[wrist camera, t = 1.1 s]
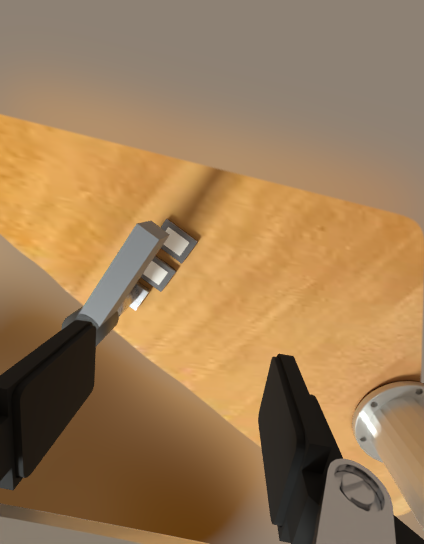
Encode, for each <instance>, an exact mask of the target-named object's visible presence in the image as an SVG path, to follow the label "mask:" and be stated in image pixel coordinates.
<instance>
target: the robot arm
mask: <svg viewBox="0 0 424 544" xmlns="http://www.w3.org/2000/svg"><path fill="white" fill-rule="evenodd" d="M95 350H96V327H95V326H93V324H92V322H89V321H83V320H74V321H73V322H72V323H70V324H69V325H68V326H66V327H65V328H64V329H62V330H61V331H60V332H58V333H57V334H56V335H54V336H53V337H52V338H50V339H49V340H47V341H46V342H45V343H43V344H42V345H41V346H39V347H38V348H37V349H35V350H34V351H33V352H31V353H30V354H29V355H28V356H26V357H25V358H23V359H22V360H21V361H19V362H18V363H16V364H15V365H14V366H12V367H11V368H10V369H8V370H7V371H6V372H4V373H3V374H2V375H0V488H4V489H9V490H14V489H15V487H16V486H17V485H18V484H19V482H20V481H21V480H22V478H23V477H24V478H26V477H28V476H29V475H30V474H31V473H32V472H33V471H34V469H35V468H36V466H37V465H38V464H39V462H40V461H41V460H42V458H43V457H44V456H45V454H46V453H47V452H48V450H49V449H50V448H51V446H52V445H53V443H54V442H55V441H56V439H57V438H58V437H59V435H60V434H61V433H62V431H63V430H64V429H65V427H66V426H67V425H68V423H69V422H70V420H71V419H72V418H73V417H74V415H75V414H76V412H77V411H78V410H79V408H80V407H81V406H82V404H83V403H84V402H85V400H86V399H87V397H88V396H89V395H90V393H91V392H92V390H93V387H94V374H95ZM258 423H259V431H260V439H261V447H262V454H263V462H264V470H265V478H266V486H267V493H268V501H269V508H270V516H271V521H272V524H274V525H277V526H278V532H279V539H280V541H283V542H288V543H291V544H424V540H423V539H422V538H421V537H420V536H419V535H417V534H416V533H415V532H414V531H413V530H411V529H410V528H409V527H408V526H406V525H405V524H404V523H403V522H402V521H400V520H399V519H398V518H397V517H396V516H394V515H393V505H392V502H391V498H390V495H389V493H388V492H387V490H386V488H385V486H384V485H383V484H382V483H381V481H380V480H379V479H378V478H377V477H376V476H375V475H374V474H373V473H372V472H371V471H369V470H368V469H367V468H365V467H364V466H362V465H360V464H359V463H356V462H354V461H352V460H347V459H343V457H342V455H341V452H340V450H339V448H338V446H337V443H336V441H335V439H334V437H333V434H332V432H331V430H330V428H329V425H328V423H327V421H326V419H325V417H324V414H323V412H322V410H321V408H320V405H319V403H318V401H317V399H316V397H315V396H314V395H310V394H309V392H308V390H307V387H306V385H305V382H304V380H303V378H302V375H301V373H300V370H299V368H298V366H297V363H296V361H295V358H294V357H293V356H289V355H283V354H278V355H277V357H272V360H271V364H270V368H269V373H268V377H267V381H266V385H265V389H264V394H263V398H262V402H261V406H260V411H259V417H258ZM352 428H353V433H354V436H355V438H356V440H357V442H358V443H359V445H360V447H361V448H362V449H363V450H364V452H365V453H366V454H368V455H369V456H371V457H372V458H374V459H376V460H378V461H380V462H383V463H384V465H385V466H386V468H387V470H388V471H389V473H390V475H391V476H392V478H393V480H394V481H395V483H396V485H397V487H398V488H399V490H400V492H401V493H402V495H403V497H404V498H405V500H406V502H407V503H408V505H409V507H410V508H411V510H412V512H413V513H414V515H415V517H416V519H417V520H418V522H419V524H420V525H421V527H422V529H423V530H424V383H421V382H414V381H400V382H395V383H390V384H387V385H384V386H382V387H379V388H378V389H376V390H374V391H372V392H371V393H370V394H368V395H367V396H366V397H365V398H364V399H363V400H362V401H361V402H360V404H359V405H358V407H357V408H356V410H355V413H354V416H353V421H352ZM0 544H208V543H204V542H199V541H194V540H188V539H184V538H178V537H173V536H168V535H163V534H158V533H152V532H148V531H143V530H137V529H132V528H127V527H122V526H117V525H111V524H106V523H101V522H96V521H90V520H85V519H80V518H75V517H70V516H64V515H59V514H54V513H48V512H43V511H37V510H32V509H27V508H21V507H16V506H10V505H5V504H0Z"/></svg>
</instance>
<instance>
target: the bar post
mask: <svg viewBox="0 0 424 544" xmlns="http://www.w3.org/2000/svg"><path fill="white" fill-rule="evenodd" d="M149 292H150V290H149V289H148V288H146V287H145V286H143V285H142V284H140V283H139V282H138V281H137V283H136V284H135V286H134V287H133V289H132V290H131V292H130V293H129V294H128V296H127V297H126V299H125V300H124V302H123V303H122V305H121V306H120V307H119V309H118V310H117V311H118V314H119V316H120V315H121V314H122V313H123V312H124V311H125V310H126V309H127V308H128V307H129V306H130V307H131V308H133V309H134V310H135V311H136V309H137V308H138V307H139V306H140V304H141V303H142V301H143V300H144V299H145V297H146V296H147V294H148V293H149Z"/></svg>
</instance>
